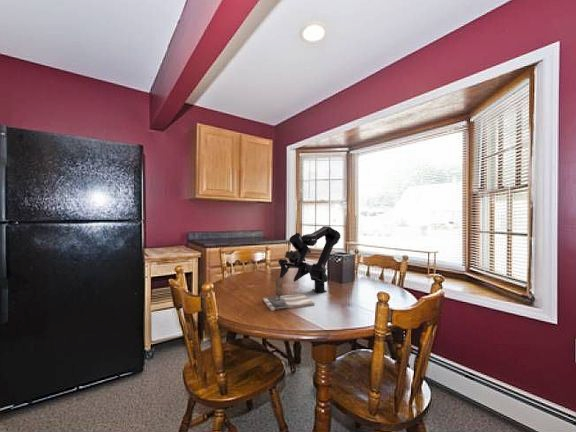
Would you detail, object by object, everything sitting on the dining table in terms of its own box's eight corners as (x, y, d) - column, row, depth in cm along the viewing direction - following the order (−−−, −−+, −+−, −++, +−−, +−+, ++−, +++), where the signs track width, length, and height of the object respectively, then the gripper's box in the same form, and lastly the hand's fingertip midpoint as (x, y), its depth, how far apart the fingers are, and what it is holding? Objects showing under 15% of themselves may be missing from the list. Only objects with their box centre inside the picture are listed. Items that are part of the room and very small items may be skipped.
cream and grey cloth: (263, 300, 146) (263, 297, 146) (302, 295, 153) (302, 293, 153) (271, 310, 131) (271, 308, 130) (314, 305, 138) (314, 302, 138)
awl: (273, 301, 139) (273, 276, 139) (285, 301, 139) (285, 276, 139) (272, 305, 134) (272, 279, 133) (284, 305, 134) (284, 279, 133)
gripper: (280, 243, 150) (265, 267, 142) (307, 246, 137) (293, 273, 129) (289, 256, 156) (276, 280, 148) (317, 260, 143) (304, 286, 136)
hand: (287, 279), depth 140 cm, fingers open, 9 cm apart
